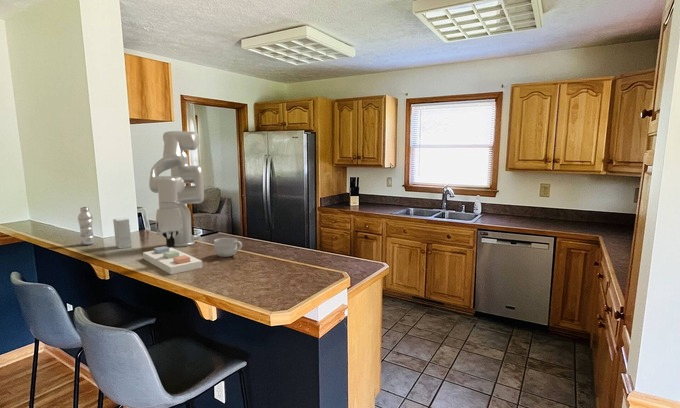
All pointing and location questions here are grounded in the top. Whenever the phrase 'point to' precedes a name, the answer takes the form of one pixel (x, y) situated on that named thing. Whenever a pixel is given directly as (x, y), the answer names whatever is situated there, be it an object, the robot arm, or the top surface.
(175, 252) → the sage button
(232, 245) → the teacup
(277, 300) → the top surface
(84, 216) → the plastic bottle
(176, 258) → the terracotta button
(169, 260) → the button panel
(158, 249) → the slate button
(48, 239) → the top surface
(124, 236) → the skincare box
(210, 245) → the top surface
